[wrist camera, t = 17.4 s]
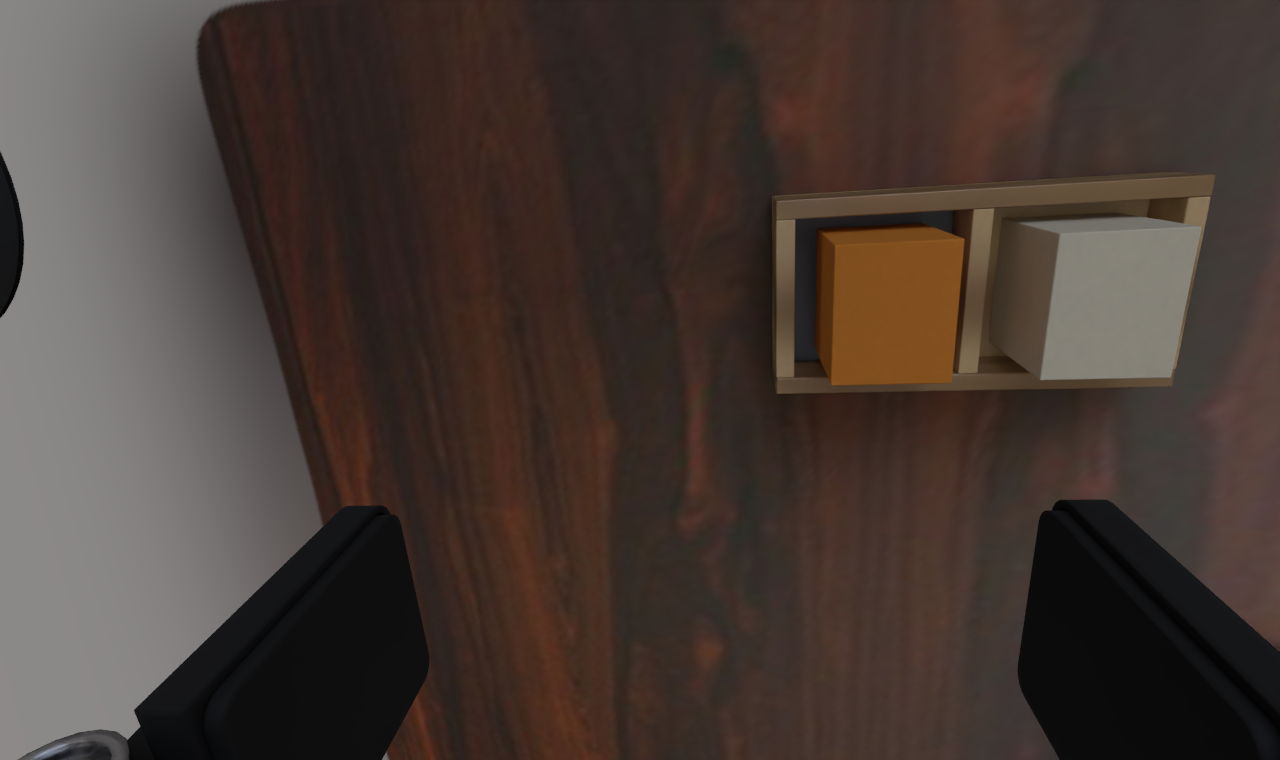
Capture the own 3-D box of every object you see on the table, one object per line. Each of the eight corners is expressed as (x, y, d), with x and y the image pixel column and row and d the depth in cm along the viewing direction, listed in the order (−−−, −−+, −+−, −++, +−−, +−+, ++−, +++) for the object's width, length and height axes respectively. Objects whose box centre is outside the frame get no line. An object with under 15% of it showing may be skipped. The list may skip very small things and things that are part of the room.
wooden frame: (771, 196, 30) (775, 200, 27) (1166, 171, 28) (1216, 174, 25) (772, 373, 33) (776, 394, 30) (1131, 364, 31) (1172, 387, 28)
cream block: (1000, 218, 29) (1060, 233, 24) (1116, 212, 28) (1202, 226, 23) (987, 341, 31) (1039, 380, 25) (1095, 338, 30) (1171, 378, 25)
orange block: (816, 228, 30) (834, 244, 25) (924, 222, 29) (965, 238, 24) (814, 347, 32) (830, 386, 26) (915, 344, 31) (952, 384, 26)
